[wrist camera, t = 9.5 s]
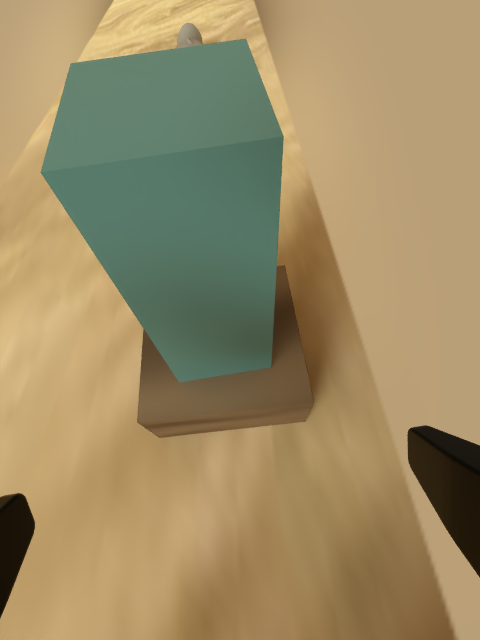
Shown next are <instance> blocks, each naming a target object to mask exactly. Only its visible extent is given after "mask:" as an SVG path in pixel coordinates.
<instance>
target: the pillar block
mask: <svg viewBox="0 0 480 640" xmlns="http://www.w3.org/2000/svg"><path fill="white" fill-rule="evenodd" d="M283 137H284V136H283V134H282V131H281V129H280V126H279V123H278V121H277V118H276V116H275V113H274V111H273V108H272V105H271V103H270V100H269V98H268V95H267V92H266V90H265V87H264V85H263V82H262V79H261V77H260V74H259V72H258V69H257V66H256V64H255V61H254V59H253V56H252V54H251V51H250V48H249V46H248V43H247V41H246V39H241V40H234V41H227V42H219V43H212V44H205V45H198V46H191V47H184V48H177V49H170V50H163V51H156V52H149V53H142V54H135V55H128V56H121V57H113V58H106V59H99V60H92V61H85V62H78V63H72V64H70V68H69V72H68V75H67V79H66V82H65V86H64V90H63V93H62V97H61V101H60V104H59V108H58V112H57V115H56V119H55V122H54V126H53V130H52V133H51V137H50V141H49V144H48V148H47V151H46V155H45V159H44V162H43V166H42V170H41V174H42V175H43V177H44V178H45V180H46V181H47V183H48V184H49V186H50V187H51V189H52V190H53V192H54V193H55V195H56V196H57V198H58V199H59V201H60V202H61V204H62V205H63V207H64V208H65V210H66V212H67V213H68V215H69V216H70V218H71V219H72V221H73V222H74V224H75V225H76V227H77V228H78V230H79V231H80V233H81V234H82V236H83V237H84V239H85V240H86V242H87V243H88V245H89V246H90V248H91V249H92V251H93V252H94V254H95V255H96V257H97V259H98V260H99V262H100V263H101V265H102V266H103V268H104V269H105V271H106V272H107V274H108V275H109V277H110V278H111V280H112V281H113V283H114V284H115V286H116V287H117V289H118V290H119V292H120V293H121V295H122V296H123V298H124V299H125V301H126V302H127V304H128V306H129V307H130V309H131V310H132V312H133V313H134V315H135V316H136V318H137V319H138V321H139V322H140V324H141V325H142V327H143V328H144V330H145V331H146V333H147V334H148V336H149V337H150V339H151V340H152V342H153V343H154V345H155V346H156V348H157V349H158V351H159V353H160V354H161V356H162V357H163V359H164V360H165V362H166V363H167V365H168V366H169V368H170V369H171V371H172V372H173V374H174V375H175V377H176V378H177V380H178V381H179V382H185V381H191V380H198V379H204V378H210V377H216V376H222V375H228V374H234V373H240V372H247V371H253V370H259V369H265V368H271V362H272V343H273V325H274V306H275V287H276V268H277V249H278V231H279V212H280V193H281V174H282V155H283Z"/></svg>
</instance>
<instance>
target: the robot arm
mask: <svg viewBox="0 0 480 640" xmlns="http://www.w3.org/2000/svg"><path fill="white" fill-rule="evenodd" d="M408 460H409V464H410V467H411V469H412V471H413V472H414V474H415V476H416V478H417V479H418V481H419V483H420V485H421V486H422V488H423V490H424V492H425V493H426V495H427V497H428V498H429V500H430V502H431V504H432V505H433V507H434V509H435V511H436V512H437V514H438V516H439V517H440V519H441V521H442V523H443V524H444V526H445V528H446V529H447V531H448V532H449V534H450V535H451V537H452V538H453V540H454V541H455V543H456V544H457V546H458V547H459V549H460V550H461V552H462V553H463V554H464V556H465V557H466V559H467V560H468V561H469V563H470V564H471V566H472V567H473V569H474V570H475V571H476V573H477V574H478V576H479V577H480V446H479V445H477V444H474V443H471V442H469V441H467V440H464V439H461V438H459V437H456V436H453V435H451V434H448V433H446V432H443V431H440V430H438V429H435V428H433V427H430V426H419V427H413V428H410V429H409V430H408ZM34 529H35V521H34V518H33V516H32V513H31V510H30V508H29V505H28V502H27V500H26V497H25V496H24V495H23V494H21V493H17V494H11V495H5V496H2V497H0V618H1V616H2V613H3V611H4V608H5V606H6V604H7V601H8V599H9V596H10V594H11V591H12V588H13V586H14V583H15V581H16V578H17V575H18V573H19V570H20V568H21V565H22V562H23V560H24V557H25V555H26V552H27V549H28V547H29V544H30V542H31V539H32V537H33V534H34Z"/></svg>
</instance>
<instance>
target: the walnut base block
mask: <svg viewBox="0 0 480 640" xmlns="http://www.w3.org/2000/svg"><path fill="white" fill-rule="evenodd" d="M313 404H314V400H313V396H312V391H311V386H310V381H309V377H308V372H307V367H306V363H305V358H304V353H303V349H302V344H301V339H300V335H299V330H298V325H297V321H296V316H295V311H294V307H293V302H292V297H291V292H290V288H289V283H288V278H287V274H286V269H285V266H277V268H276V287H275V306H274V325H273V343H272V362H271V368H265V369H259V370H253V371H247V372H240V373H234V374H228V375H222V376H216V377H210V378H204V379H198V380H191V381H185V382H179V381H178V380H177V378H176V377H175V375H174V374H173V372H172V371H171V369H170V368H169V366H168V365H167V363H166V362H165V360H164V359H163V357H162V356H161V354H160V353H159V351H158V349H157V348H156V346H155V345H154V343H153V342H152V340H151V339H150V337H149V336H148V334H147V333H146V331H145V330H144V331H143V345H142V360H141V374H140V389H139V404H138V418H137V422H138V423H139V424H140V425H142V426H143V427H145V428H146V429H148V430H149V431H150V432H152V433H153V434H155V435H156V436H158V437H159V438H160V437H169V436H178V435H187V434H196V433H205V432H214V431H223V430H232V429H241V428H250V427H259V426H269V425H278V424H287V423H296V422H305V421H306V419H307V417H308V414H309V412H310V410H311V408H312V406H313Z"/></svg>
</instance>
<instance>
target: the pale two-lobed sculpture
mask: <svg viewBox="0 0 480 640" xmlns="http://www.w3.org/2000/svg"><path fill="white" fill-rule="evenodd" d="M198 45H203V44H202V37H201V34H200V32H199V30H198V29H197V28H196V26H194V25H193V24H191V23H186V24H184V25H183V26H182V28H181V29H180V31H179V34H178V37H177V47H176V48H175V49H177V48H184V47H191V46H198Z"/></svg>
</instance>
